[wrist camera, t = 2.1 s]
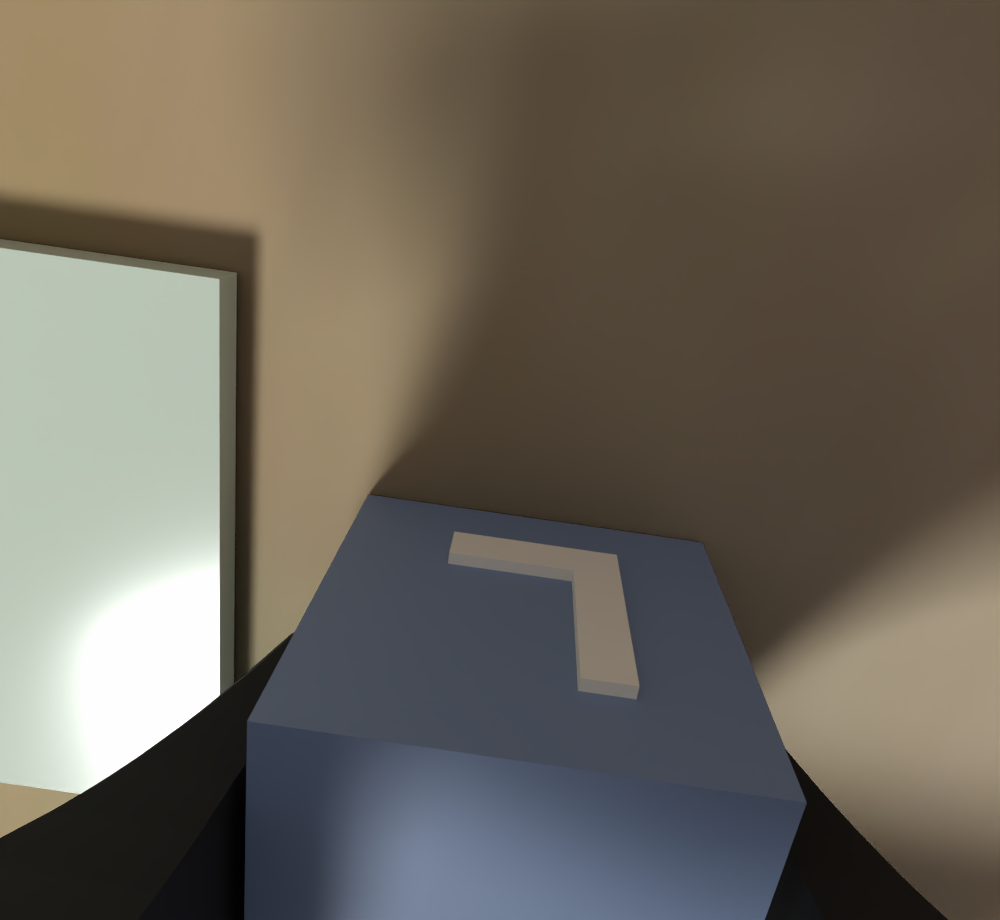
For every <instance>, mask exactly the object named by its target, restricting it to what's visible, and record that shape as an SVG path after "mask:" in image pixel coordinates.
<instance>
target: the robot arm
mask: <svg viewBox="0 0 1000 920" xmlns="http://www.w3.org/2000/svg"><path fill="white" fill-rule="evenodd" d="M293 634H294V633H292V634H291V635H290V636H288V637H287V638H286V639H285V640H284V641H283V642H281V643H280V644H279V645H278V646H277V647H276V648H275V649H274V650H272V651H271V652H270V653H269V654H268V655H267V656H266V657H264V658H263V659H262V660H261V661H260V662H259V663H258V664H256V665H255V666H254V667H253V668H252V669H251V670H249V671H248V672H247V673H246V674H245V675H243V676H242V677H241V678H240V679H239V680H238V681H236V682H235V683H234V684H233V685H232V686H230V687H229V688H228V689H227V690H225V691H224V692H223V693H222V694H220V695H219V696H218V697H217V698H215V699H214V700H213V701H212V702H210V703H209V704H208V705H207V706H205V707H204V708H203V709H202V710H201V711H199V712H198V713H197V714H196V715H194V716H193V717H192V718H190V719H189V720H188V721H186V722H185V723H184V724H182V725H181V726H180V727H178V728H177V729H175V730H174V731H173V732H171V733H170V734H169V735H167V736H166V737H164V738H163V739H162V740H160V741H159V742H158V743H156V744H155V745H153V746H152V747H151V748H149V749H148V750H147V751H145V752H144V753H142V754H141V755H140V756H138V757H137V758H135V759H134V760H132V761H131V762H129V763H128V764H126V765H125V766H123V767H122V768H120V769H119V770H117V771H116V772H114V773H113V774H111V775H110V776H108V777H107V778H105V779H104V780H102V781H100V782H99V783H97V784H96V785H94V786H92V787H91V788H89V789H88V790H86V791H84V792H83V793H81V794H79V795H78V796H76V797H74V798H73V799H71V800H70V801H68V802H66V803H64V804H63V805H61V806H59V807H57V808H56V809H54V810H52V811H50V812H49V813H47V814H45V815H43V816H41V817H39V818H37V819H35V820H33V821H32V822H30V823H28V824H26V825H24V826H22V827H20V828H18V829H16V830H14V831H13V832H11V833H9V834H7V835H5V836H3V837H1V838H0V920H244V896H245V829H246V762H247V720H248V719H249V717H250V715H251V713H252V711H253V709H254V707H255V705H256V704H257V702H258V700H259V698H260V696H261V694H262V692H263V690H264V689H265V687H266V685H267V683H268V681H269V679H270V677H271V675H272V674H273V672H274V670H275V668H276V666H277V664H278V662H279V660H280V659H281V657H282V655H283V653H284V651H285V649H286V647H287V646H288V644H289V642H290V640H291V638H292V636H293ZM785 750H786V749H785ZM786 752H787V750H786ZM787 755H788V757H789V760H790V762H791V765H792V767H793V770H794V772H795V775H796V777H797V780H798V782H799V785H800V787H801V790H802V792H803V795H804V797H805V800H806V802H807V804H806V806H805V809H804V812H803V815H802V818H801V820H800V823H799V826H798V829H797V832H796V834H795V837H794V840H793V843H792V845H791V848H790V851H789V854H788V857H787V859H786V862H785V865H784V868H783V870H782V873H781V876H780V879H779V882H778V884H777V887H776V890H775V893H774V895H773V898H772V901H771V904H770V907H769V909H768V912H767V915H766V918H765V920H948V919H947V918H946V917H945V916H943V915H942V914H941V913H940V912H939V911H938V910H937V909H936V908H935V907H934V906H932V905H931V904H930V903H929V902H928V901H927V900H926V899H925V898H924V897H923V896H922V895H920V894H919V893H918V892H917V891H916V890H915V889H914V888H913V887H912V886H911V885H910V884H909V883H908V882H907V881H906V880H905V879H904V878H903V877H902V876H901V875H900V874H899V873H898V872H897V871H896V870H895V869H894V868H893V867H892V866H891V865H890V864H889V863H888V862H887V861H886V860H885V859H884V858H883V857H882V856H881V855H880V854H879V853H878V852H877V851H876V850H875V849H874V848H873V847H872V845H871V844H870V843H869V842H868V841H867V840H866V839H865V838H864V837H863V836H862V835H861V834H860V833H859V832H858V831H857V830H856V829H855V828H854V827H853V826H852V824H851V823H850V822H849V821H848V820H847V819H846V818H845V817H844V816H843V815H842V814H841V813H840V811H839V810H838V809H837V808H836V807H835V806H834V805H833V804H832V803H831V801H830V800H829V799H828V798H827V797H826V796H825V795H824V793H823V792H822V791H821V790H820V789H819V788H818V787H817V786H816V784H815V783H814V782H813V781H812V780H811V779H810V777H809V776H808V775H807V774H806V773H805V772H804V770H803V769H802V768H801V767H800V766H799V765H798V763H797V762H796V761H795V760H794V759H793V757H792V756H791V755H790V754H789V753H788V752H787Z"/></svg>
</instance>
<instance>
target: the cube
mask: <svg viewBox="0 0 1000 920" xmlns="http://www.w3.org/2000/svg"><path fill="white" fill-rule="evenodd" d="M806 804H807V802H806V800H805V797H804V795H803V792H802V790H801V787H800V785H799V782H798V780H797V777H796V775H795V772H794V770H793V767H792V765H791V762H790V760H789V757H788V755H787V752H786V750H785V747H784V745H783V742H782V740H781V737H780V735H779V732H778V730H777V727H776V725H775V722H774V720H773V717H772V715H771V712H770V710H769V707H768V705H767V702H766V700H765V697H764V695H763V692H762V690H761V687H760V685H759V682H758V680H757V677H756V675H755V672H754V670H753V667H752V665H751V662H750V660H749V657H748V655H747V652H746V650H745V647H744V645H743V642H742V640H741V637H740V635H739V632H738V630H737V627H736V625H735V622H734V620H733V617H732V615H731V613H730V610H729V608H728V605H727V603H726V600H725V598H724V595H723V593H722V590H721V588H720V585H719V583H718V580H717V578H716V575H715V573H714V570H713V568H712V565H711V563H710V560H709V558H708V555H707V553H706V550H705V548H704V545H703V543H701V542H695V541H688V540H681V539H674V538H667V537H660V536H653V535H646V534H639V533H632V532H625V531H618V530H611V529H604V528H597V527H590V526H583V525H577V524H570V523H563V522H556V521H549V520H542V519H535V518H528V517H521V516H514V515H507V514H500V513H493V512H486V511H479V510H472V509H465V508H458V507H452V506H445V505H438V504H431V503H424V502H417V501H410V500H403V499H396V498H389V497H382V496H375V495H368V496H367V498H366V499H365V501H364V503H363V505H362V507H361V509H360V511H359V513H358V514H357V516H356V518H355V520H354V522H353V524H352V526H351V528H350V529H349V531H348V533H347V535H346V537H345V539H344V541H343V543H342V544H341V546H340V548H339V550H338V552H337V554H336V556H335V558H334V559H333V561H332V563H331V565H330V567H329V569H328V571H327V573H326V574H325V576H324V578H323V580H322V582H321V584H320V586H319V587H318V589H317V591H316V593H315V595H314V597H313V599H312V601H311V602H310V604H309V606H308V608H307V610H306V612H305V614H304V616H303V617H302V619H301V621H300V623H299V625H298V627H297V629H296V631H295V632H294V634H293V636H292V638H291V640H290V642H289V644H288V646H287V647H286V649H285V651H284V653H283V655H282V657H281V659H280V660H279V662H278V664H277V666H276V668H275V670H274V672H273V674H272V675H271V677H270V679H269V681H268V683H267V685H266V687H265V689H264V690H263V692H262V694H261V696H260V698H259V700H258V702H257V704H256V705H255V707H254V709H253V711H252V713H251V715H250V717H249V719H248V720H247V762H246V829H245V896H244V920H765V918H766V915H767V912H768V909H769V907H770V904H771V901H772V898H773V895H774V893H775V890H776V887H777V884H778V882H779V879H780V876H781V873H782V870H783V868H784V865H785V862H786V859H787V857H788V854H789V851H790V848H791V845H792V843H793V840H794V837H795V834H796V832H797V829H798V826H799V823H800V820H801V818H802V815H803V812H804V809H805V806H806Z"/></svg>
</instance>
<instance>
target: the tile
mask: <svg viewBox="0 0 1000 920" xmlns="http://www.w3.org/2000/svg"><path fill="white" fill-rule="evenodd" d="M236 326H237V273H236V272H229V271H222V270H215V269H208V268H201V267H194V266H187V265H180V264H173V263H166V262H159V261H152V260H145V259H138V258H131V257H124V256H117V255H110V254H103V253H96V252H89V251H82V250H75V249H68V248H61V247H54V246H47V245H39V244H32V243H25V242H18V241H11V240H4V239H0V782H2V783H9V784H16V785H22V786H29V787H36V788H43V789H50V790H57V791H63V792H70V793H77V794H81V793H83V792H84V791H86V790H88V789H89V788H91V787H92V786H94V785H96V784H97V783H99V782H100V781H102V780H104V779H105V778H107V777H108V776H110V775H111V774H113V773H114V772H116V771H117V770H119V769H120V768H122V767H123V766H125V765H126V764H128V763H129V762H131V761H132V760H134V759H135V758H137V757H138V756H140V755H141V754H142V753H144V752H145V751H147V750H148V749H149V748H151V747H152V746H153V745H155V744H156V743H158V742H159V741H160V740H162V739H163V738H164V737H166V736H167V735H169V734H170V733H171V732H173V731H174V730H175V729H177V728H178V727H180V726H181V725H182V724H184V723H185V722H186V721H188V720H189V719H190V718H192V717H193V716H194V715H196V714H197V713H198V712H199V711H201V710H202V709H203V708H204V707H205V706H207V705H208V704H209V703H210V702H212V701H213V700H214V699H215V698H217V697H218V696H219V695H220V694H222V693H223V692H224V691H225V690H227V689H228V688H229V687H230V686H232V685H233V684H234V607H235V467H236Z"/></svg>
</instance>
